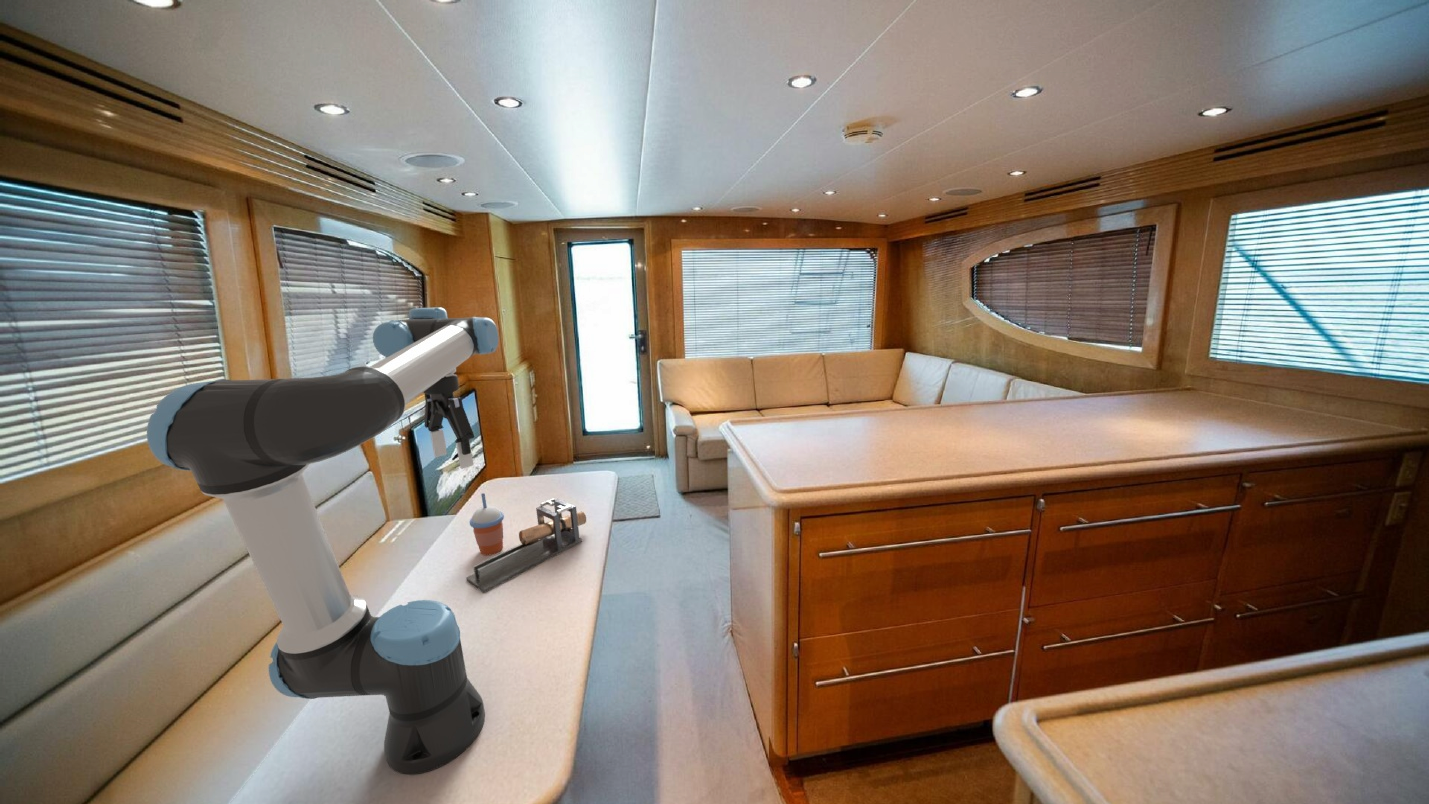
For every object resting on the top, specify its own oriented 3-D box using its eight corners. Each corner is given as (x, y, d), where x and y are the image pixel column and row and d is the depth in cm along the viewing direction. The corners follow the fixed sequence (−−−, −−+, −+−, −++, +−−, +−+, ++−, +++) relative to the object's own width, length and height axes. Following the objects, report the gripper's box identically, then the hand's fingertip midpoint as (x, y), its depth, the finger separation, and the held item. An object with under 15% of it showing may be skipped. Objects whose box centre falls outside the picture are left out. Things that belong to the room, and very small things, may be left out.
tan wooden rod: (527, 547, 134) (526, 532, 134) (519, 543, 137) (518, 528, 136) (586, 526, 150) (586, 512, 149) (578, 522, 152) (577, 509, 152)
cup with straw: (508, 554, 141) (499, 497, 137) (473, 561, 138) (463, 503, 133) (508, 539, 149) (500, 485, 145) (476, 546, 146) (466, 490, 142)
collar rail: (483, 592, 123) (476, 547, 120) (466, 580, 129) (459, 537, 126) (582, 541, 146) (577, 502, 143) (564, 533, 152) (559, 495, 149)
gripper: (481, 377, 108) (494, 466, 113) (432, 368, 123) (446, 447, 128) (446, 383, 102) (462, 477, 107) (399, 373, 117) (415, 455, 122)
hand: (453, 461), depth 118 cm, fingers open, 13 cm apart
